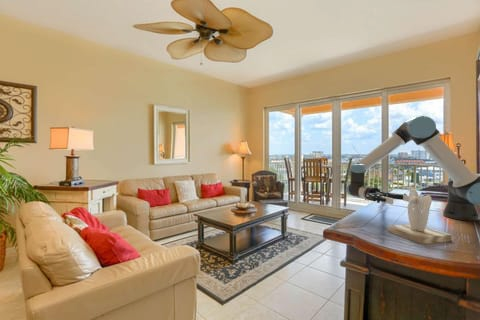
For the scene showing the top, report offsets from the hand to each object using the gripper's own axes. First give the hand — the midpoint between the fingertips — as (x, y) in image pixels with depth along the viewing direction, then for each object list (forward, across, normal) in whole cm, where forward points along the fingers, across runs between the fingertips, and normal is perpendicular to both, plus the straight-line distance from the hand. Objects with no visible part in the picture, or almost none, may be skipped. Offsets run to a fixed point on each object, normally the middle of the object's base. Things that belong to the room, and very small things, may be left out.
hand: (404, 200), depth 112 cm
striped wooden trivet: (+7, 0, -14) cm, 16 cm away
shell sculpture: (+7, 0, -12) cm, 14 cm away
